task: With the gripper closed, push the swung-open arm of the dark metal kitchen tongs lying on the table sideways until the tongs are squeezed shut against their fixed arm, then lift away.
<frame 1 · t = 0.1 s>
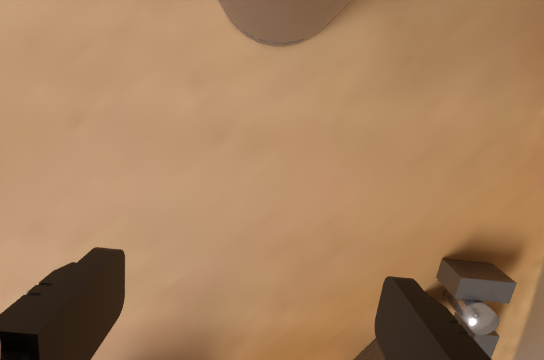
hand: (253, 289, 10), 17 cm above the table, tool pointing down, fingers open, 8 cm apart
tongs fixed: (456, 292, 30), on the table
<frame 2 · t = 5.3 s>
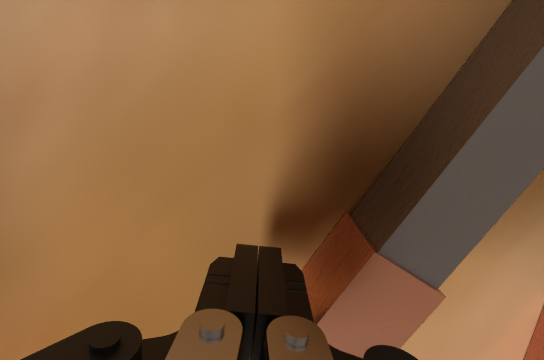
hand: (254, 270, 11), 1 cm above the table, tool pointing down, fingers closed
tong arm: (449, 174, 10), point 2 cm above the table, hinge at 27.0°, touching gripper
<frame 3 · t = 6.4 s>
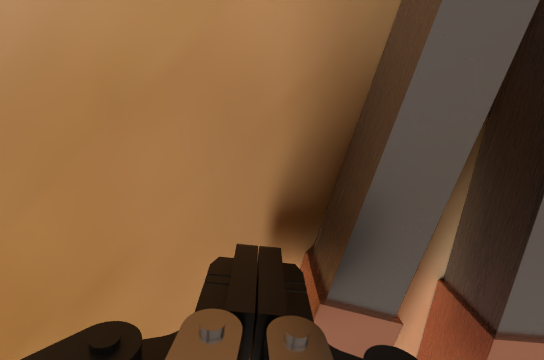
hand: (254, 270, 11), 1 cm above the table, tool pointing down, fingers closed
tong arm: (380, 203, 10), point 2 cm above the table, hinge at 10.1°, touching gripper
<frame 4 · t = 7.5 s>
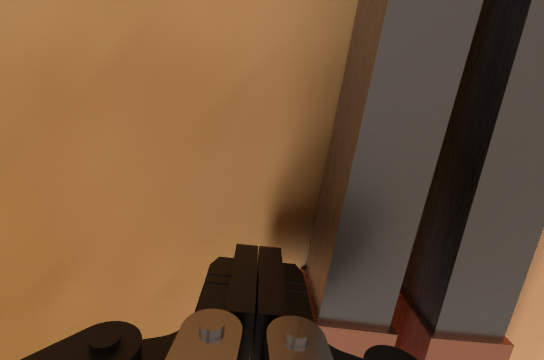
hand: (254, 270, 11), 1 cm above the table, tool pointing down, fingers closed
tong arm: (361, 216, 10), point 2 cm above the table, hinge at 1.9°, touching gripper
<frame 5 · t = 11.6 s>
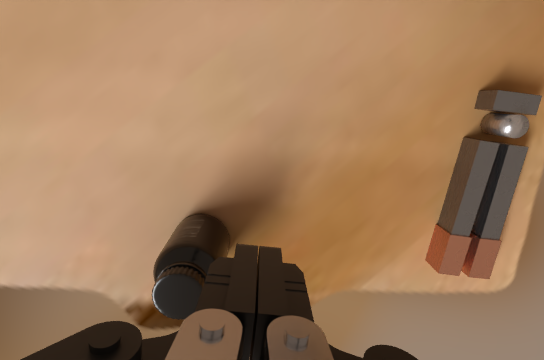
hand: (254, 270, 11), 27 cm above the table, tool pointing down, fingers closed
tongs fixed: (490, 123, 37), on the table
tong arm: (460, 207, 38), point 2 cm above the table, hinge at 1.8°
supplement bottle: (203, 237, 40), on the table
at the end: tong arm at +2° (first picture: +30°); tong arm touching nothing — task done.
